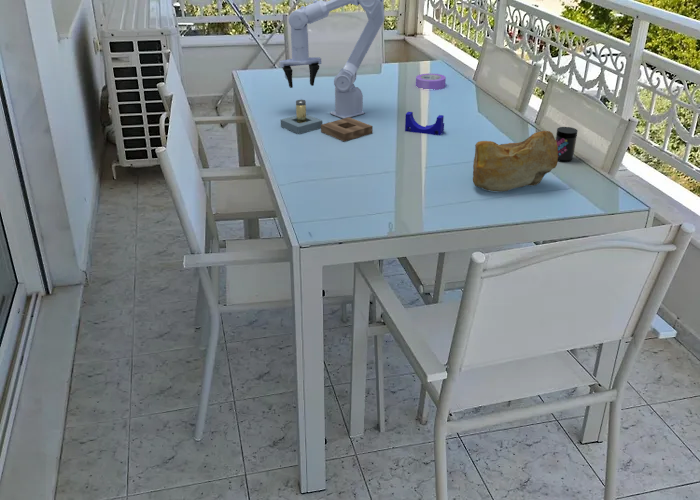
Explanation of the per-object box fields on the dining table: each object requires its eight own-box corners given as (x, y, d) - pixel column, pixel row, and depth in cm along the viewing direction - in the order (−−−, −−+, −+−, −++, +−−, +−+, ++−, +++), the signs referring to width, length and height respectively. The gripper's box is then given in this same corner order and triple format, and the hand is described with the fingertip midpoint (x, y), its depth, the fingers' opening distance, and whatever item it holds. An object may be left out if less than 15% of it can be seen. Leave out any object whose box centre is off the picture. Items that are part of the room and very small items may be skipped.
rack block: (304, 120, 242) (304, 113, 240) (322, 127, 235) (322, 120, 234) (280, 126, 236) (280, 119, 235) (298, 134, 229) (298, 126, 228)
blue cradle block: (443, 131, 232) (444, 114, 229) (440, 136, 228) (441, 118, 225) (408, 127, 236) (409, 110, 233) (404, 131, 232) (405, 114, 229)
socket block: (348, 124, 238) (348, 117, 237) (372, 133, 230) (372, 126, 229) (321, 132, 231) (320, 124, 230) (344, 141, 223) (344, 134, 222)
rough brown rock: (535, 170, 204) (538, 119, 198) (561, 188, 189) (565, 134, 183) (458, 178, 201) (459, 127, 195) (478, 197, 186) (479, 142, 180)
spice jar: (302, 125, 237) (301, 99, 233) (308, 127, 235) (307, 101, 231) (295, 127, 236) (293, 101, 231) (300, 129, 233) (299, 103, 229)
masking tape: (412, 89, 276) (413, 79, 274) (418, 81, 286) (419, 72, 284) (442, 91, 273) (443, 81, 271) (447, 83, 283) (448, 74, 281)
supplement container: (551, 155, 212) (555, 126, 208) (571, 155, 212) (575, 127, 207) (554, 162, 207) (558, 132, 203) (574, 163, 207) (579, 133, 202)
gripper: (282, 50, 233) (284, 91, 240) (323, 47, 238) (324, 87, 244) (276, 46, 239) (279, 85, 246) (317, 43, 243) (318, 81, 250)
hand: (301, 86), depth 245 cm, fingers open, 7 cm apart
